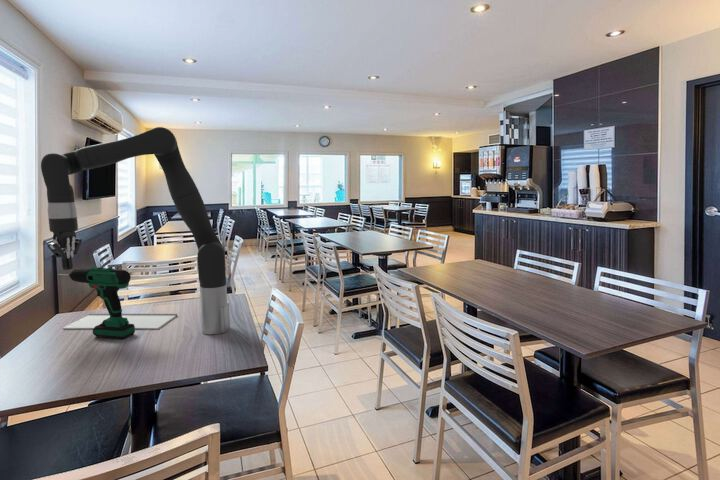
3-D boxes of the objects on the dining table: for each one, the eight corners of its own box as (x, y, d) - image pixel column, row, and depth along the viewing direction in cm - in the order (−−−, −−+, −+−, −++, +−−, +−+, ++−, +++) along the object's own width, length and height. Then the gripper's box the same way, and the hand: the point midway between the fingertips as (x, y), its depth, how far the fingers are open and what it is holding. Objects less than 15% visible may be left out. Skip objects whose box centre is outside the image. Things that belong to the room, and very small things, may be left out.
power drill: (124, 339, 144) (119, 269, 141) (56, 334, 150) (49, 266, 147) (136, 334, 150) (131, 266, 146) (69, 328, 155) (63, 263, 152)
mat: (177, 315, 170) (176, 313, 170) (157, 329, 155) (157, 326, 154) (90, 315, 171) (90, 313, 171) (62, 329, 155) (62, 326, 155)
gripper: (59, 218, 126) (64, 273, 129) (87, 215, 139) (92, 265, 142) (35, 218, 126) (40, 273, 129) (65, 215, 139) (70, 265, 142)
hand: (67, 269), depth 135 cm, fingers closed
